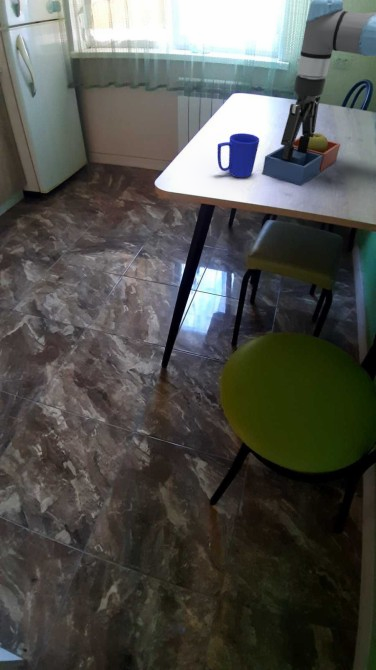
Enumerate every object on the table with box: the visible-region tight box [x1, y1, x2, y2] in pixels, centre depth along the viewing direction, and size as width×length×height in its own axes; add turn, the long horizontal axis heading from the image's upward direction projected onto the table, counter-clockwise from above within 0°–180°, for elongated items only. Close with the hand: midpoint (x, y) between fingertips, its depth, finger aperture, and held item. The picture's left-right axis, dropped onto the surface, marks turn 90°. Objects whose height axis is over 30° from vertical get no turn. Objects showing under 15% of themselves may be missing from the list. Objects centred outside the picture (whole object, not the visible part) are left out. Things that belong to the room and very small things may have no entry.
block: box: [291, 151, 306, 166], centre depth 120 cm, size 5×5×5 cm
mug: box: [217, 132, 260, 178], centre depth 116 cm, size 8×12×10 cm
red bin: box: [293, 135, 341, 173], centre depth 128 cm, size 12×12×5 cm
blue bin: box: [261, 145, 323, 186], centre depth 120 cm, size 12×12×5 cm
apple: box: [308, 132, 329, 153], centre depth 127 cm, size 8×8×7 cm
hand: (292, 164), depth 120 cm, fingers open, 9 cm apart
